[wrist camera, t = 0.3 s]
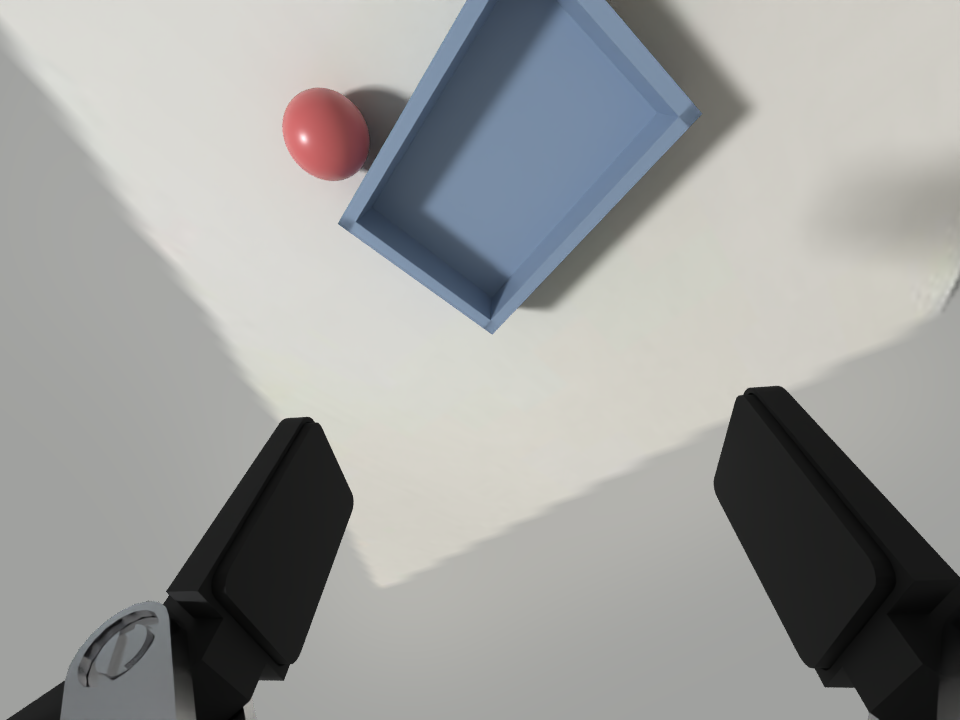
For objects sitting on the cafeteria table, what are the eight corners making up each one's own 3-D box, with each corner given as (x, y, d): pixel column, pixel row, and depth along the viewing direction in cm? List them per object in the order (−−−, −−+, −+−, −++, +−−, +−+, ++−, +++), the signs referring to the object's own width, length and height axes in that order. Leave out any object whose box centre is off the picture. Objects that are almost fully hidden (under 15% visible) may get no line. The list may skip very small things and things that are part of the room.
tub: (519, -65, 26) (523, -97, 21) (672, 109, 31) (702, 113, 26) (359, 206, 36) (337, 223, 31) (493, 306, 40) (492, 334, 36)
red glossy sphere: (323, 67, 30) (287, 64, 25) (392, 125, 32) (371, 132, 27) (291, 139, 33) (253, 149, 28) (356, 188, 35) (331, 205, 30)
